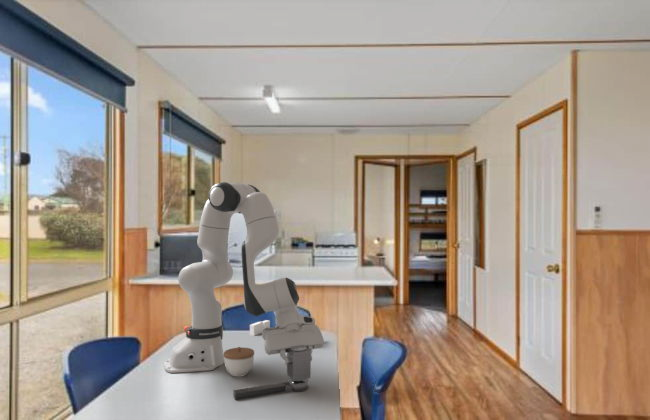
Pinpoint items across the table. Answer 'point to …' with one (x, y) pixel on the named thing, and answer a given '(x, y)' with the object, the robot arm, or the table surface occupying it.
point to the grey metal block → (299, 362)
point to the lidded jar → (239, 360)
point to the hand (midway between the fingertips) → (299, 362)
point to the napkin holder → (259, 327)
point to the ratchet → (271, 389)
